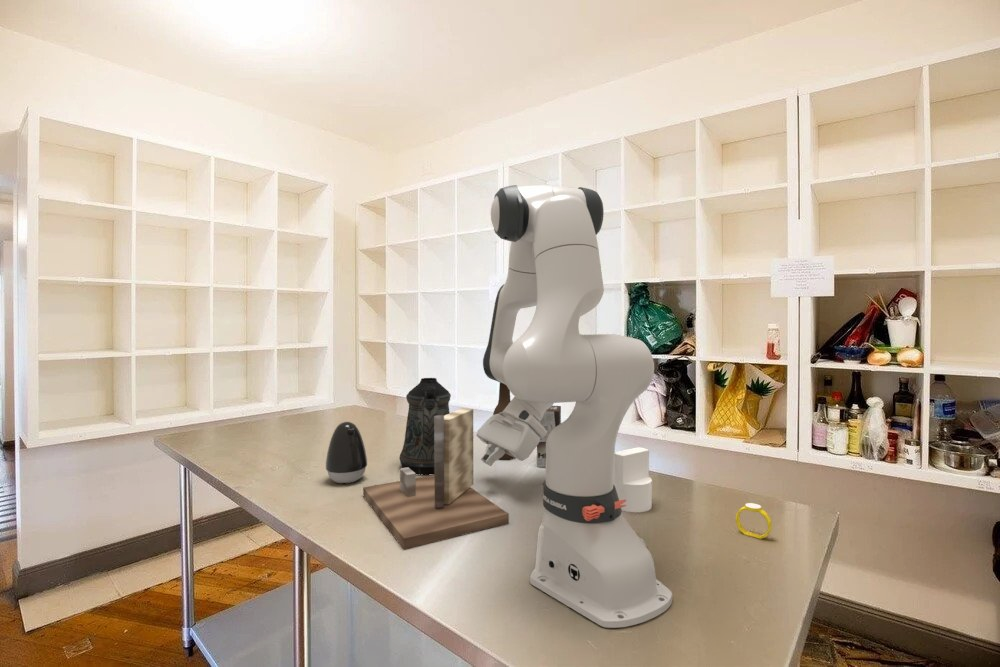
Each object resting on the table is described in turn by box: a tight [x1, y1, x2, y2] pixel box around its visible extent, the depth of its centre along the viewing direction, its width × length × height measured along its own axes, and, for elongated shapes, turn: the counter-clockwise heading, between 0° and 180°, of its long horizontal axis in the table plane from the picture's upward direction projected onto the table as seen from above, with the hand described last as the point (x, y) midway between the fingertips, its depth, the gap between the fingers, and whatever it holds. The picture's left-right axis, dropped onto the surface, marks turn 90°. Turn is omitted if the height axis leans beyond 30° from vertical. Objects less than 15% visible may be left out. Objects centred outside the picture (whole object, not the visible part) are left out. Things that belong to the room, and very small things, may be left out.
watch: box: [735, 502, 773, 540], centre depth 91 cm, size 6×3×6 cm, turn 49°
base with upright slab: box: [613, 446, 653, 513], centre depth 106 cm, size 9×9×12 cm
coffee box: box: [536, 405, 562, 468], centre depth 136 cm, size 9×6×16 cm
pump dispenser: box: [325, 421, 368, 484], centre depth 122 cm, size 10×10×15 cm
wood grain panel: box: [434, 407, 474, 508], centre depth 105 cm, size 16×3×19 cm, turn 160°
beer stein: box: [399, 377, 452, 476], centre depth 132 cm, size 16×19×25 cm
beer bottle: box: [492, 382, 515, 461], centre depth 143 cm, size 8×8×24 cm
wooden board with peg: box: [362, 467, 510, 550], centre depth 104 cm, size 30×22×7 cm
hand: (485, 463), depth 112 cm, fingers closed
